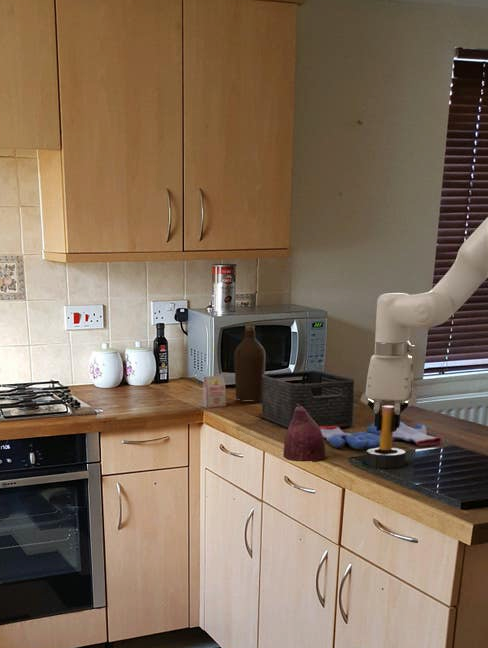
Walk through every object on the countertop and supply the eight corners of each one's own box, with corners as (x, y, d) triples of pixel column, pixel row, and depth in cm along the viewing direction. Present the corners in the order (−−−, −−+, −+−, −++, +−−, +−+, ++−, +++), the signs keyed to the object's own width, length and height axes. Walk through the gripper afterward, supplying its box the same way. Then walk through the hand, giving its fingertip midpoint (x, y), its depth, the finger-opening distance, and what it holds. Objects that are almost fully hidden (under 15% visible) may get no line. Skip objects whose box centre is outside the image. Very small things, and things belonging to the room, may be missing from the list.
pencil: (392, 448, 207) (395, 405, 203) (390, 450, 204) (393, 407, 201) (380, 447, 208) (383, 405, 204) (378, 449, 205) (380, 407, 202)
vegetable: (302, 476, 211) (297, 419, 203) (275, 463, 219) (269, 408, 211) (335, 459, 215) (331, 403, 207) (308, 447, 223) (303, 393, 215)
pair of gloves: (401, 427, 249) (402, 414, 247) (459, 443, 226) (460, 429, 225) (302, 438, 238) (302, 424, 237) (352, 456, 216) (353, 441, 214)
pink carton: (202, 406, 293) (202, 376, 289) (221, 404, 294) (221, 374, 291) (206, 408, 289) (206, 377, 286) (225, 406, 291) (225, 376, 288)
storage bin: (258, 416, 271) (258, 372, 267) (316, 412, 276) (317, 369, 272) (294, 432, 245) (295, 384, 241) (357, 427, 250) (359, 380, 245)
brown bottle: (260, 404, 293) (261, 327, 285) (230, 403, 297) (230, 327, 289) (268, 399, 302) (269, 324, 294) (239, 398, 306) (239, 324, 298)
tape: (407, 461, 209) (408, 448, 208) (400, 469, 202) (401, 456, 201) (370, 458, 213) (371, 446, 212) (362, 466, 205) (363, 454, 204)
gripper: (431, 349, 198) (425, 429, 204) (359, 347, 205) (355, 425, 211) (425, 352, 192) (419, 435, 198) (352, 351, 199) (348, 431, 205)
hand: (386, 429), depth 204 cm, fingers closed on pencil, 2 cm apart
